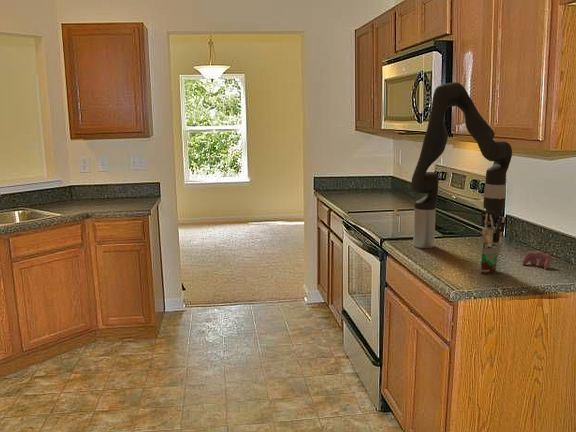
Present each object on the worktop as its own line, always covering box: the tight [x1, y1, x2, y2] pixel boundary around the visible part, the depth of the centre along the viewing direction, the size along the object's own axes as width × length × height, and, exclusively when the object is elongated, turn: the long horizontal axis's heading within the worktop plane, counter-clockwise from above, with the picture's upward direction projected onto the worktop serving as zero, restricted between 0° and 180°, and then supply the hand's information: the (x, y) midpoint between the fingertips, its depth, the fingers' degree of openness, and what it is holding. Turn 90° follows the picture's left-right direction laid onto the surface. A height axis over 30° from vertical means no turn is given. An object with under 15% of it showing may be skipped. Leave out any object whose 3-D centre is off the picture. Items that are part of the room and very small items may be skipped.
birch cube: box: [481, 227, 503, 244], centre depth 209 cm, size 5×5×5 cm
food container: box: [480, 241, 501, 275], centre depth 210 cm, size 12×6×10 cm, turn 158°
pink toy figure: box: [522, 250, 553, 270], centre depth 217 cm, size 10×5×7 cm, turn 44°
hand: (491, 240), depth 209 cm, fingers closed on birch cube, 5 cm apart
